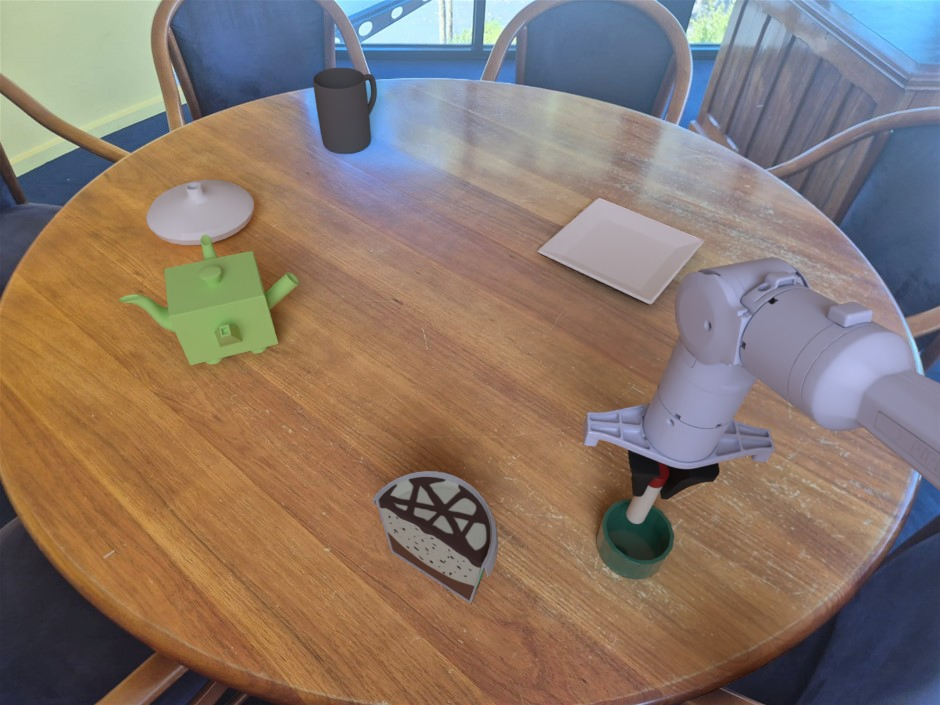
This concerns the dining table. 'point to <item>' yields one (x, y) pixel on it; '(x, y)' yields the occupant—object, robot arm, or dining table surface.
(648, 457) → the robot arm
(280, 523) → the dining table surface
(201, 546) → the dining table surface
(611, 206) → the plate
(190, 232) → the grey lid
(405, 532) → the cake slice
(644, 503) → the marker
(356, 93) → the mug
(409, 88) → the dining table surface
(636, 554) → the thermos cup
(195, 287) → the kettle
